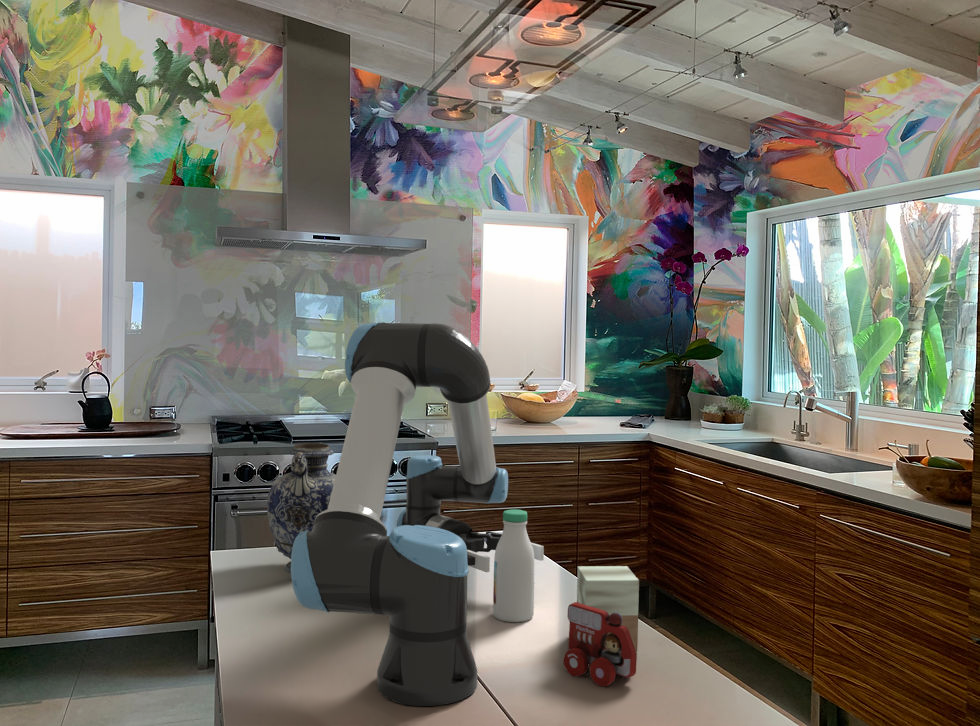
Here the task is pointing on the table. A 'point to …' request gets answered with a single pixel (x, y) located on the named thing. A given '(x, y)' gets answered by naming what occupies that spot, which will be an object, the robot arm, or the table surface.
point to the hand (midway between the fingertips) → (516, 559)
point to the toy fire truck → (598, 645)
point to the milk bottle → (514, 570)
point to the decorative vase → (300, 495)
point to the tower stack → (611, 593)
